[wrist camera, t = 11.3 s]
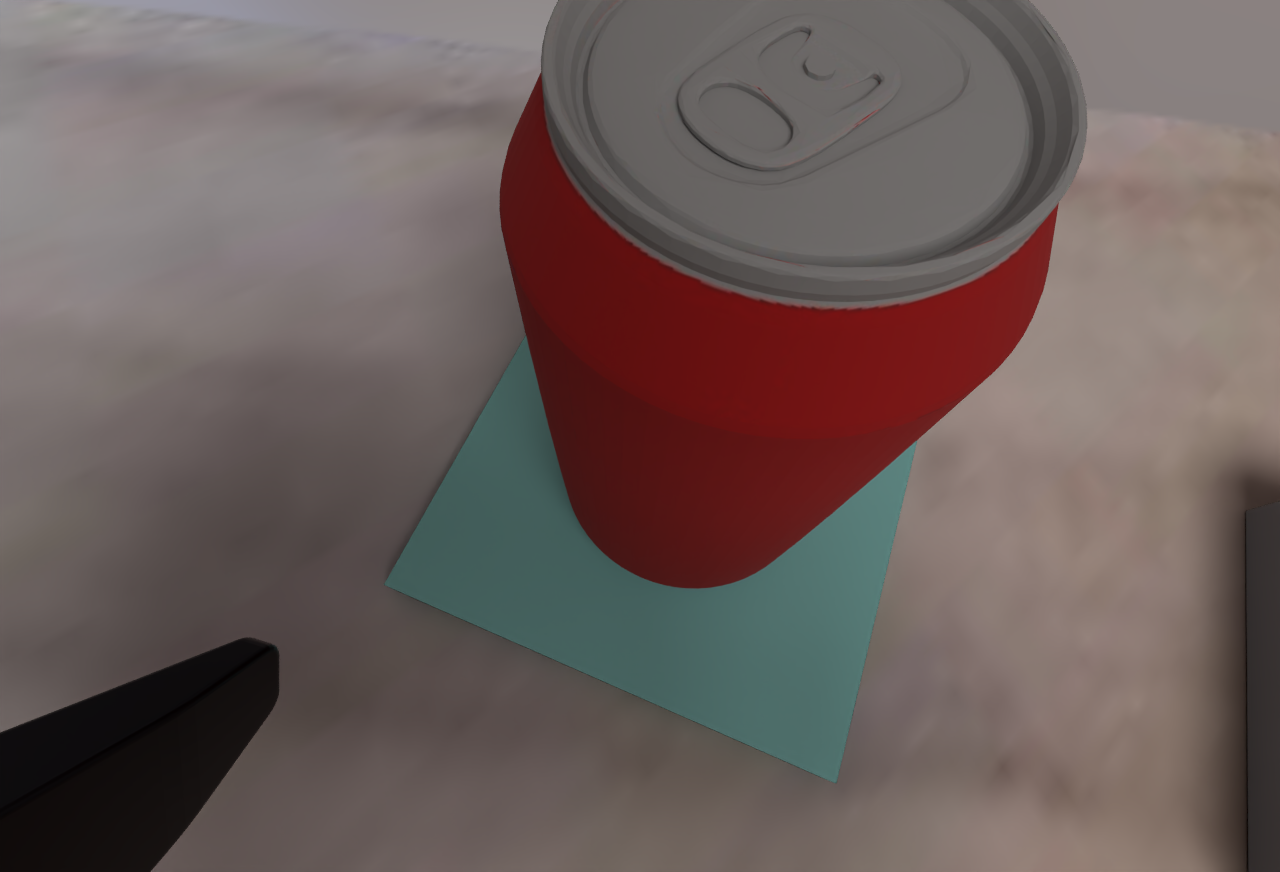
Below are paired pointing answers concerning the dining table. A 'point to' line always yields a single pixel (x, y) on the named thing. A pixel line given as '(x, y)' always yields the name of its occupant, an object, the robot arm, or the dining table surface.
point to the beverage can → (774, 251)
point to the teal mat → (656, 592)
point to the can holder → (1263, 686)
